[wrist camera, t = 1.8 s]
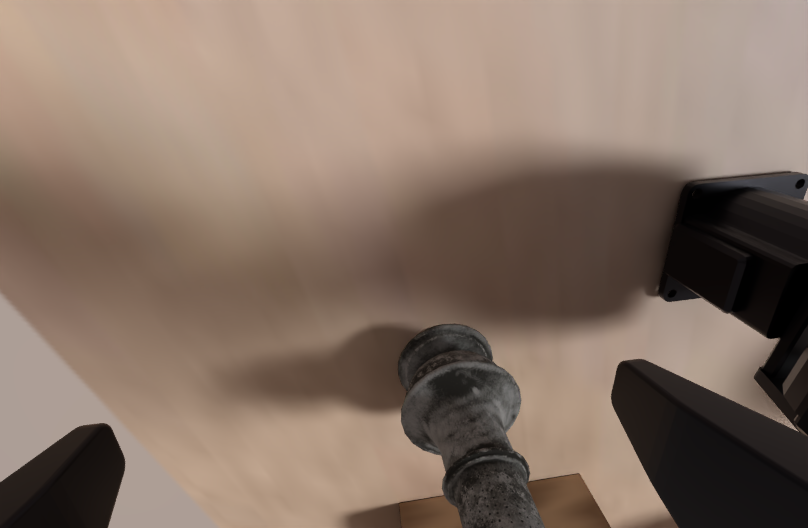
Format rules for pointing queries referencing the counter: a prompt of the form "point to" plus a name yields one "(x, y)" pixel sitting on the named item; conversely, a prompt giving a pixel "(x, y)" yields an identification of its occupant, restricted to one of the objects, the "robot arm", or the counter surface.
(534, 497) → the holder
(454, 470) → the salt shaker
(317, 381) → the counter surface
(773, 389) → the robot arm
